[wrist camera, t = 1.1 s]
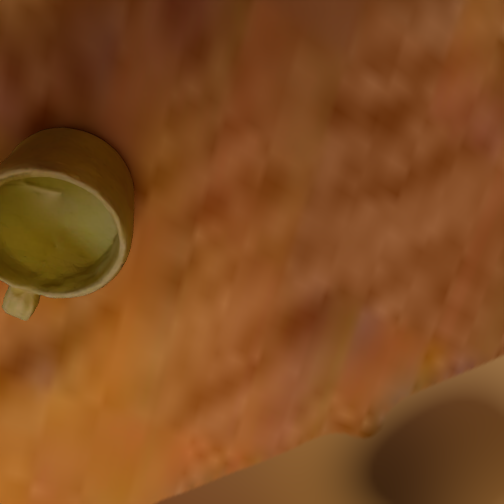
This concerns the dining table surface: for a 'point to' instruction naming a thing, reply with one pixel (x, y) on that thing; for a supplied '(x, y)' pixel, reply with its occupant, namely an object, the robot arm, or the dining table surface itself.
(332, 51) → the dining table surface
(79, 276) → the mug
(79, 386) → the dining table surface
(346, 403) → the dining table surface
